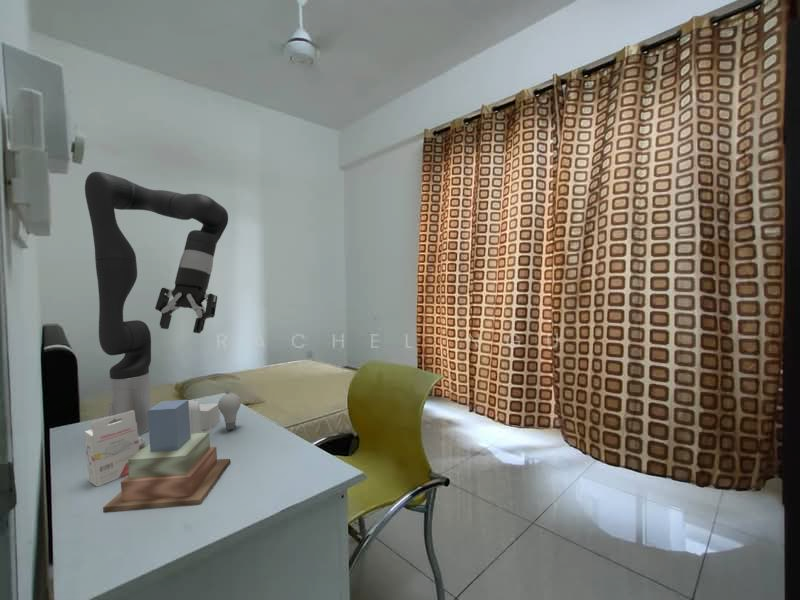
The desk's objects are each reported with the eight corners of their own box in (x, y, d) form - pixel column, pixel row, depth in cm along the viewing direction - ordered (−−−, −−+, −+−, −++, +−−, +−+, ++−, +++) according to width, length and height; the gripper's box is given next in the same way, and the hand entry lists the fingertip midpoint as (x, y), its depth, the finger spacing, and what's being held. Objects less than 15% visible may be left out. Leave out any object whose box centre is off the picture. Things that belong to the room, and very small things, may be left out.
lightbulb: (216, 430, 105) (214, 394, 104) (237, 423, 110) (235, 389, 109) (224, 436, 101) (222, 398, 100) (245, 429, 105) (243, 393, 105)
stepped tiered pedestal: (103, 512, 68) (100, 467, 68) (152, 468, 84) (149, 431, 84) (200, 504, 70) (198, 460, 70) (230, 462, 86) (228, 426, 86)
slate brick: (150, 452, 74) (147, 410, 73) (164, 440, 79) (162, 401, 78) (178, 450, 74) (175, 408, 74) (190, 438, 80) (188, 399, 79)
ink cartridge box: (132, 463, 86) (127, 405, 86) (141, 469, 84) (137, 409, 83) (87, 481, 79) (82, 417, 78) (95, 488, 77) (90, 422, 76)
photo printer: (201, 438, 100) (198, 395, 99) (202, 444, 96) (200, 400, 96) (157, 448, 94) (154, 403, 93) (157, 455, 91) (154, 408, 90)
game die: (144, 444, 97) (143, 434, 96) (145, 449, 94) (144, 438, 94) (128, 449, 94) (127, 438, 94) (128, 454, 92) (128, 442, 91)
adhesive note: (189, 430, 105) (188, 411, 105) (201, 422, 111) (200, 403, 111) (209, 430, 105) (208, 410, 105) (220, 422, 111) (219, 403, 111)
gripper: (159, 263, 89) (142, 325, 86) (213, 269, 89) (199, 333, 86) (177, 270, 97) (163, 329, 94) (228, 277, 96) (215, 335, 93)
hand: (180, 330), depth 90 cm, fingers open, 8 cm apart
